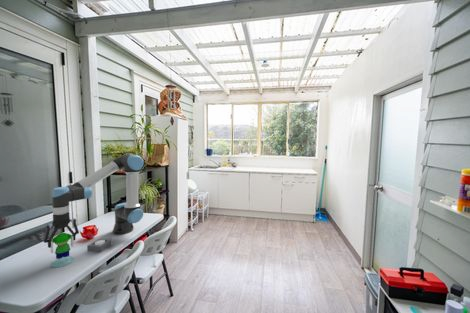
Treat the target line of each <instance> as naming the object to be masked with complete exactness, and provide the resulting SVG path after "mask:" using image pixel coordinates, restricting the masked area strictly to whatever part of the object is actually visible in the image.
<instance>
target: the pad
mask: <svg viewBox="0 0 470 313" xmlns="http://www.w3.org/2000/svg"><path fill="white" fill-rule="evenodd" d="M75 259H76V258H75V256H71V255H69V256H67V257H62V258H60V259H56V260H54V261H52V262H51V264H50V267H51V268H54V269H56V268H62V267H65V266H68V265H70V264H71V263H73V262H74V261H75Z"/></svg>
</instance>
